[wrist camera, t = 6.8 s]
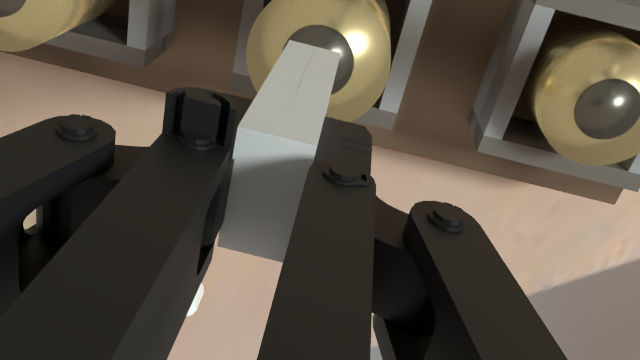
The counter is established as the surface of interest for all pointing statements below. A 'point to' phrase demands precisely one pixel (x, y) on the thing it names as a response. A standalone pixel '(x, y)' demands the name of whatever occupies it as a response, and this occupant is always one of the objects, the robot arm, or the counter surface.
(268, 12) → the knob middle
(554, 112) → the knob
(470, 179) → the counter surface
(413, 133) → the mount
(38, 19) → the knob
